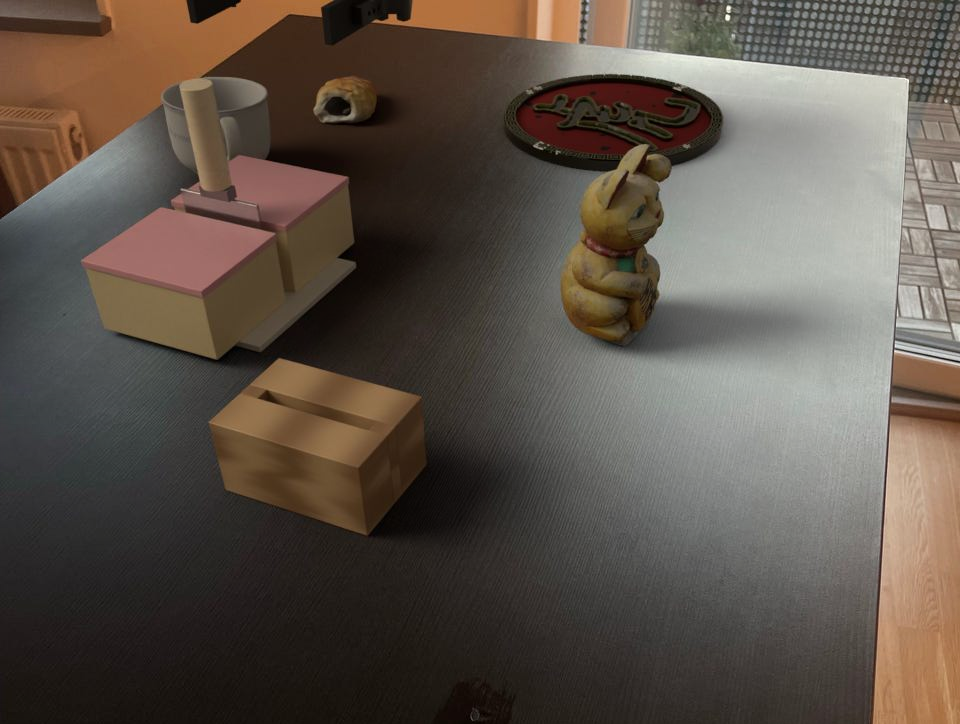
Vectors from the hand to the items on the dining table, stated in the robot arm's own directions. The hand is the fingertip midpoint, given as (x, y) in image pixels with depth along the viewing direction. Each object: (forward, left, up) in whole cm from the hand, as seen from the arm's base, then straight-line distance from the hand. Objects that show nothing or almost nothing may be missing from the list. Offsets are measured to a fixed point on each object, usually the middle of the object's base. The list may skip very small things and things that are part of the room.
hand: (256, 16), depth 86 cm
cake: (0, -9, -20) cm, 22 cm away
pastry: (-12, +31, -20) cm, 38 cm away
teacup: (-15, +11, -20) cm, 27 cm away
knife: (0, -9, -19) cm, 21 cm away
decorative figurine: (+33, -1, -20) cm, 39 cm away
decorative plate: (+18, +40, -20) cm, 48 cm away
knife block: (+22, -29, -20) cm, 42 cm away
